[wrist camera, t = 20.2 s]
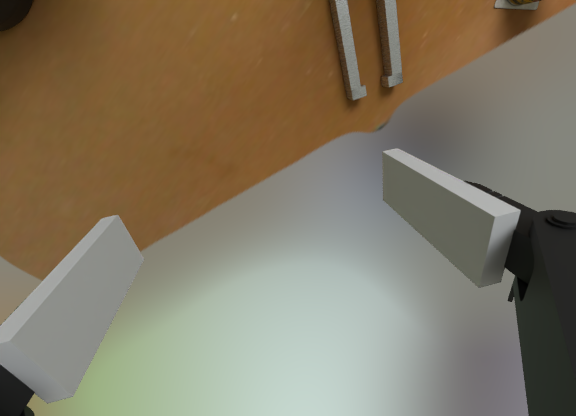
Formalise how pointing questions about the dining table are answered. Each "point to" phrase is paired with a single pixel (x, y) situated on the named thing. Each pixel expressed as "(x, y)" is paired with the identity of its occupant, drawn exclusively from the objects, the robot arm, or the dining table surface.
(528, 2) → the condiment
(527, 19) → the dining table surface
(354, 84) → the c link
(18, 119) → the dining table surface
